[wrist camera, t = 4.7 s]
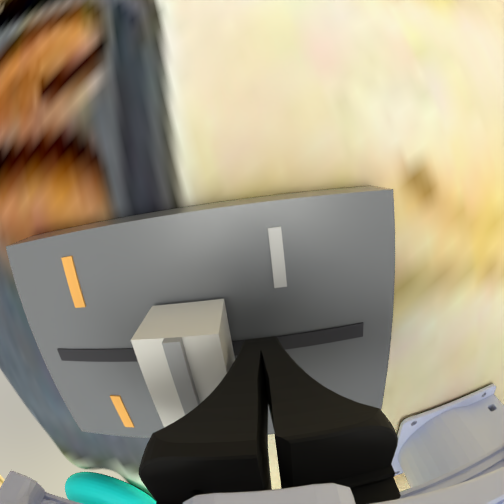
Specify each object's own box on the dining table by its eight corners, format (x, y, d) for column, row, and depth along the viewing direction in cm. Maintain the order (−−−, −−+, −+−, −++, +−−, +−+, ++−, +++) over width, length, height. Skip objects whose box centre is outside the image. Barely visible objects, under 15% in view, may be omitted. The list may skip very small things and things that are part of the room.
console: (370, 185, 14) (394, 189, 11) (367, 387, 17) (381, 414, 14) (32, 235, 14) (4, 247, 12) (94, 407, 17) (81, 432, 15)
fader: (223, 298, 12) (217, 338, 9) (241, 394, 13) (241, 442, 10) (152, 305, 12) (128, 344, 9) (179, 398, 13) (168, 444, 10)
